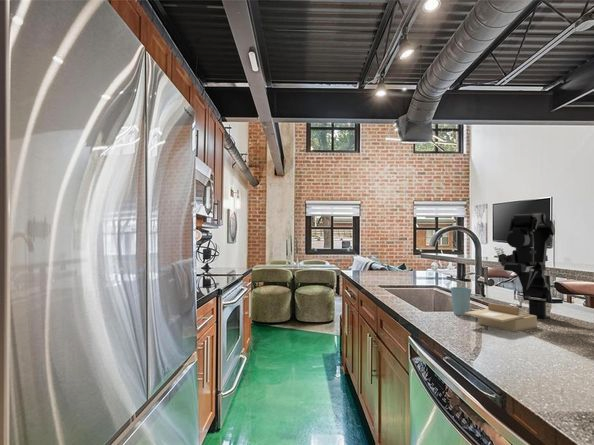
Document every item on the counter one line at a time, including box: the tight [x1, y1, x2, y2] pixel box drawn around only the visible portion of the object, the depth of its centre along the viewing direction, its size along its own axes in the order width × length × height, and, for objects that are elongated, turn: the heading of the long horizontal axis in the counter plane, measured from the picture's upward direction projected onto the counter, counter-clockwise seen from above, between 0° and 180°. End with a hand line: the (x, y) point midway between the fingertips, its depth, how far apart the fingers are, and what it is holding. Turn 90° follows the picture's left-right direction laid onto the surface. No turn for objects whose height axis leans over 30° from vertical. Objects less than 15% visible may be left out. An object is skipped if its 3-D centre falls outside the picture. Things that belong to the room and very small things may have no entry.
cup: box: [450, 286, 472, 316], centre depth 145 cm, size 8×8×10 cm
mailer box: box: [477, 312, 538, 333], centre depth 126 cm, size 14×13×4 cm
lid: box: [465, 302, 525, 322], centre depth 122 cm, size 14×13×3 cm
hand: (525, 289), depth 131 cm, fingers closed
